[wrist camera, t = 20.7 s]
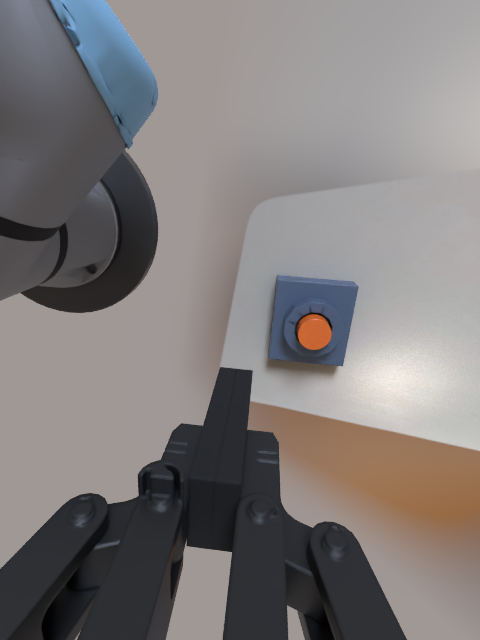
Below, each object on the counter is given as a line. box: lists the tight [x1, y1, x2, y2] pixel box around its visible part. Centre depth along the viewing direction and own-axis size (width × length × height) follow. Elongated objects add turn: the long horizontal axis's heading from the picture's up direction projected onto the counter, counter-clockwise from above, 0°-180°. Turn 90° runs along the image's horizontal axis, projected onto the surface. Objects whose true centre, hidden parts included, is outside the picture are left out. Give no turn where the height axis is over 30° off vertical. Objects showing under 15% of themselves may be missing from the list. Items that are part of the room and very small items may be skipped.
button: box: [297, 314, 332, 350], centre depth 38 cm, size 4×4×2 cm
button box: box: [269, 275, 358, 366], centre depth 40 cm, size 10×9×4 cm
